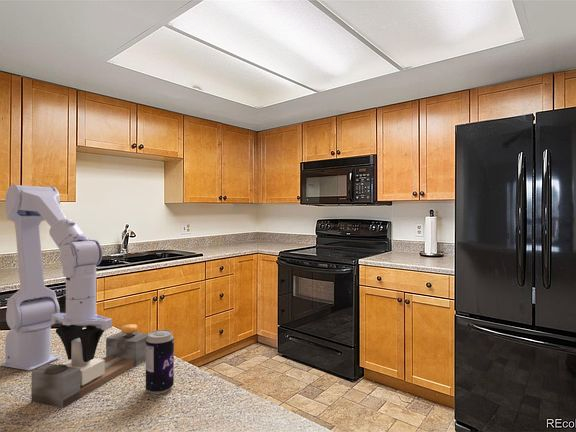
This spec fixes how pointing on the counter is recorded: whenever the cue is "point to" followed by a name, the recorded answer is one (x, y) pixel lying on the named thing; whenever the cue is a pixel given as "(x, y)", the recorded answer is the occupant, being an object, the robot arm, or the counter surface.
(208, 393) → the counter surface
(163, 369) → the beverage can
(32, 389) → the rail
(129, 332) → the button
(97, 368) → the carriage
